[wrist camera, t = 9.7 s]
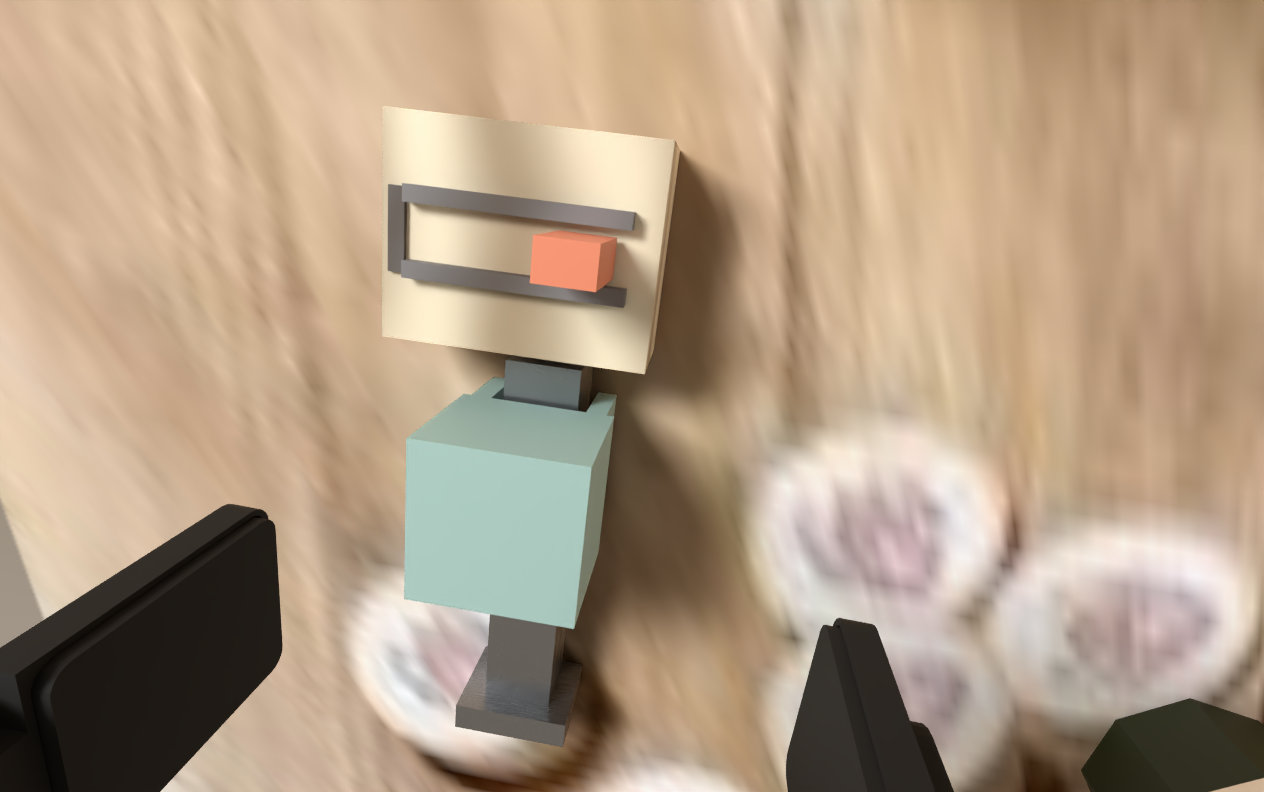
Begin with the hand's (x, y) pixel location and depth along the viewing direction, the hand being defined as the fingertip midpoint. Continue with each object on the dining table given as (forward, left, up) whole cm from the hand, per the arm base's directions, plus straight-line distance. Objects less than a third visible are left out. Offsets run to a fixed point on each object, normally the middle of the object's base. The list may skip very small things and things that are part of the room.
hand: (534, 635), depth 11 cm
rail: (+4, +8, -18) cm, 20 cm away
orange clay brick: (+2, -5, -13) cm, 14 cm away
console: (+5, -5, -18) cm, 19 cm away
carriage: (+4, +4, -18) cm, 18 cm away
